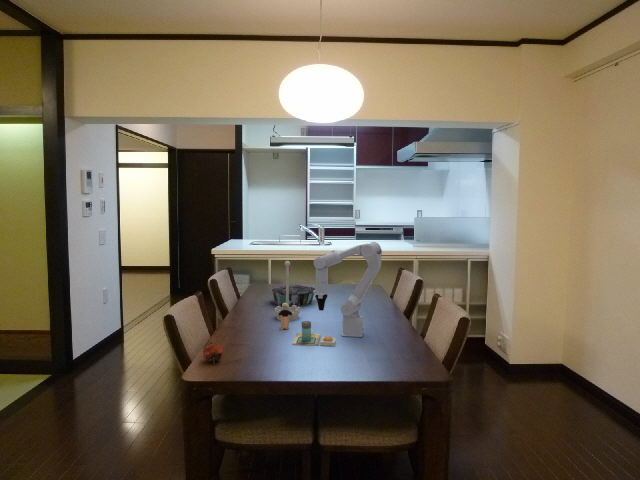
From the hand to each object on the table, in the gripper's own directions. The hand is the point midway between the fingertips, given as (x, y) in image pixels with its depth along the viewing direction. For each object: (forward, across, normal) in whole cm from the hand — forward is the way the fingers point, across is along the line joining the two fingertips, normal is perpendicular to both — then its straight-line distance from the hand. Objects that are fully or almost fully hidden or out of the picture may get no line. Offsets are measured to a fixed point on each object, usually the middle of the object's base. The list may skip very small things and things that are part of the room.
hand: (321, 310), depth 204 cm
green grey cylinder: (+9, +18, -5) cm, 21 cm away
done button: (+9, +20, +4) cm, 22 cm away
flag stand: (+10, -19, -19) cm, 28 cm away
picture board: (+9, +16, -5) cm, 19 cm away
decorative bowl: (+10, -52, -20) cm, 56 cm away
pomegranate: (+10, +44, -38) cm, 59 cm away
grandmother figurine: (+10, 0, -17) cm, 20 cm away
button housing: (+9, +20, +4) cm, 22 cm away
